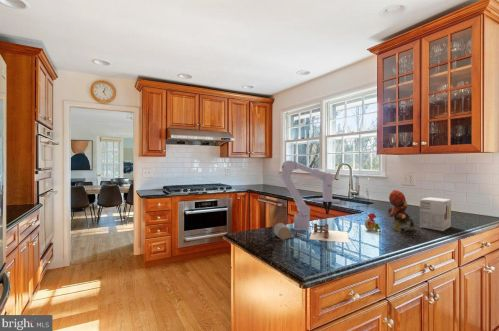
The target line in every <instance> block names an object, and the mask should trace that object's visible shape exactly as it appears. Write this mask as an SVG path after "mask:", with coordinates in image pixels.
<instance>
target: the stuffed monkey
mask: <svg viewBox="0 0 499 331" xmlns="http://www.w3.org/2000/svg"><path fill="white" fill-rule="evenodd" d="M406 199H407V198H406V197H405V194H404V193H403V191H400V190H398V189H397V190H396V189H393V190H392V191H391V192H390V194H389V196H388V200H389V203H390V204H391V205H392V206H393V208H392V207H389V208H388V210H387V215H388V217H389V218H394V220H393V221H394V222H393V227H394V228H395V230H396V232H398V233H400V232H406V231H408V230H410V229H414V228H421V227H420V226H418V225H414V224H415V222H414V221H413V219H412V218H411V217H410V215H409V214H408V213H407V212H406V210H407V209H408V206H407V205H408V201H407V200H406ZM391 212H392V213H391ZM408 223H409V226H408V227H406V228H405V229H404V230H402V229H401V227H402V226H403V227H404V225H405V226H407V224H408Z"/></svg>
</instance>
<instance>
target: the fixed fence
mask: <svg viewBox="0 0 499 331" xmlns="http://www.w3.org/2000/svg"><path fill="white" fill-rule="evenodd" d="M326 226H327V230H329V223H328V224H327V223H326V224H324V225H323V224H318V223H313V229H314V232H317V231H320V232H322V231H324V229H325V228H326ZM323 228H324V229H323Z"/></svg>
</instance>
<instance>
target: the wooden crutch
mask: <svg viewBox="0 0 499 331" xmlns="http://www.w3.org/2000/svg"><path fill="white" fill-rule="evenodd" d="M328 230H329V229H328ZM328 230H327V226H326V228H325V227H324V238H328Z"/></svg>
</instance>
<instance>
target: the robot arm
mask: <svg viewBox="0 0 499 331" xmlns="http://www.w3.org/2000/svg"><path fill="white" fill-rule="evenodd" d="M294 170H301V171H303V172H305V173H309V174H310V175H311V177H313V178H316V179H318V180H319V181H322V198H315V199H314V200H315V203H322V205H323V207H324V210H325V214H326V215H329V212H330V209H331V207H332V205H333V203H334V204H340V203H341V200H340V199H334V198H333V181H334V179H335V178H334V175H333V174H332V173H330V172H327V170H323V169H320V167H314V168H312V167H309V166H308V165H305V164H302V163H300V162H296V161H293V160H285V161H283V163H282V165H281V176H280V178H281V179H282V181H283V183H284V185H285V187H286V188H287V190H288V192H289V194H290V196H291V197H292V198H293V201H294V202H295V205H296V209H297V212H298V213H297V214H294V215H293V230H296V231H307V232H308V231H309V232H310V231H311V227H310V216H311V215H310V213H311V208H310V206H309V205H308V204H306V202H305V201H304V199H303V198H302V196H301V194H300V193H299V191H298V189H297V187H296V185H295V184H294V181H293V180H292V178H291V175H292V173H293V171H294Z"/></svg>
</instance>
